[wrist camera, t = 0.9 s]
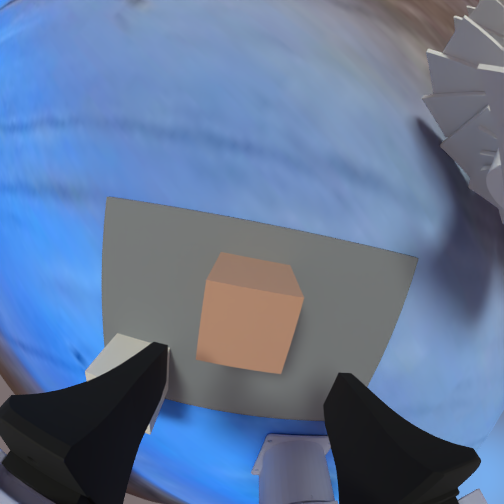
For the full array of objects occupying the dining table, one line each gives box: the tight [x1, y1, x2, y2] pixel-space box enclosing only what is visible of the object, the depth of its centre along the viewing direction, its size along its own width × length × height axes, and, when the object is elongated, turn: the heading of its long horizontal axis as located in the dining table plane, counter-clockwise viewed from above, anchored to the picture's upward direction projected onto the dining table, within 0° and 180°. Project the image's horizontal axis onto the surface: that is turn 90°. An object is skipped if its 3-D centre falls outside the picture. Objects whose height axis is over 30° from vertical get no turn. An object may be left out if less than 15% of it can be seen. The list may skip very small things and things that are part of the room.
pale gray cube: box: [85, 333, 170, 434], centre depth 19 cm, size 5×5×6 cm
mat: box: [102, 197, 418, 421], centre depth 21 cm, size 18×25×1 cm
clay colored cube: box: [196, 252, 304, 374], centre depth 17 cm, size 5×5×6 cm
